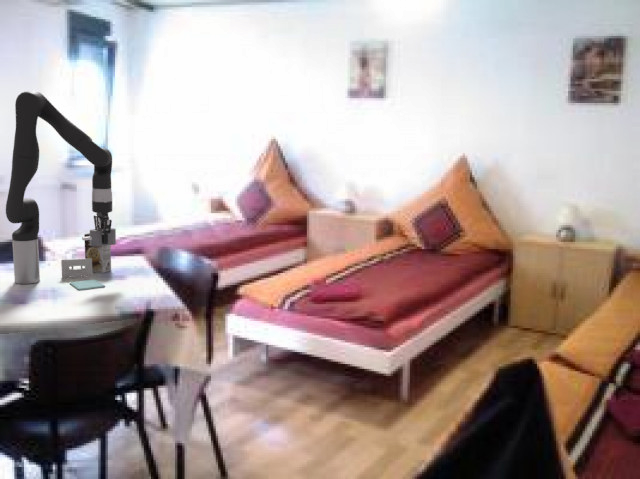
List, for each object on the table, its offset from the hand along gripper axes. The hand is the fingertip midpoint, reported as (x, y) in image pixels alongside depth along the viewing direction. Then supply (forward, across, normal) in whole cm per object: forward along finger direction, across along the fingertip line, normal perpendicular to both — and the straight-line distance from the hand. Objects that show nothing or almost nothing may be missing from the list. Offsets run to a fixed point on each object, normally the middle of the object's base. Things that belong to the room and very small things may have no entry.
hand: (102, 242), depth 259 cm
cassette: (+17, -16, -5) cm, 24 cm away
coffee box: (+17, -23, +6) cm, 30 cm away
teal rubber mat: (+17, 0, -6) cm, 18 cm away
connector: (+1, 0, -1) cm, 2 cm away
